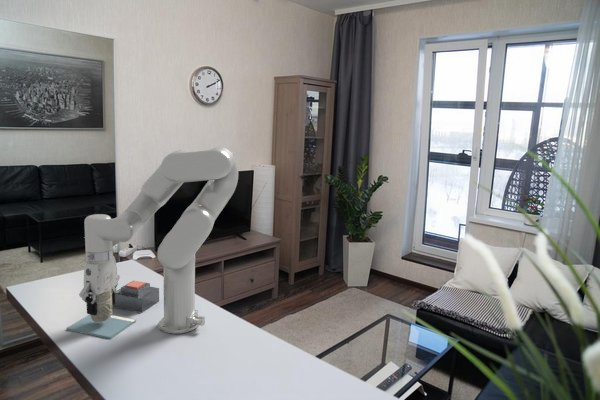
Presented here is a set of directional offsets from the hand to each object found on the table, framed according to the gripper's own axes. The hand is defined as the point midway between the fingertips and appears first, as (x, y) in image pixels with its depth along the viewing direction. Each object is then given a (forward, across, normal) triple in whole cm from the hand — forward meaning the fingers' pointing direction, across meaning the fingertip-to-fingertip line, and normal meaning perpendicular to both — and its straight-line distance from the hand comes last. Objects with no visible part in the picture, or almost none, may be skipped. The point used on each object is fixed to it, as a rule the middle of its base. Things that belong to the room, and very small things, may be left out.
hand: (101, 308), depth 135 cm
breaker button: (0, +17, 0) cm, 17 cm away
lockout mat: (+6, 0, 0) cm, 6 cm away
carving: (+4, 0, 0) cm, 4 cm away
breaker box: (+6, +17, 0) cm, 18 cm away
